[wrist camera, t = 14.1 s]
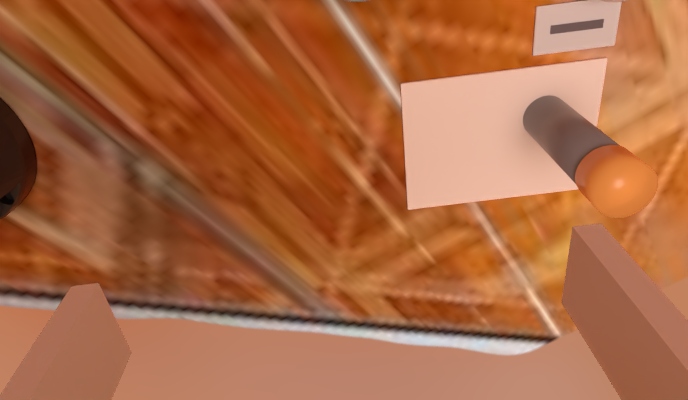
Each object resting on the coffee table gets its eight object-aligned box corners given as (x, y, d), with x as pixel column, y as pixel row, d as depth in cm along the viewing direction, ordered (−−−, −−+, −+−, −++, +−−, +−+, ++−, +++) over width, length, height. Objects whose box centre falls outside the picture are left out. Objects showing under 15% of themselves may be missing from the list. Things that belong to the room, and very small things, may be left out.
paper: (407, 208, 50) (407, 209, 50) (400, 83, 44) (400, 84, 43) (585, 186, 50) (587, 188, 50) (605, 57, 43) (607, 58, 43)
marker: (521, 141, 47) (592, 222, 35) (521, 98, 44) (597, 169, 32) (566, 133, 46) (653, 212, 34) (569, 90, 44) (662, 158, 32)
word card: (532, 55, 43) (533, 55, 43) (535, 6, 41) (537, 6, 41) (613, 44, 43) (615, 45, 42) (621, -5, 41) (623, -5, 40)
